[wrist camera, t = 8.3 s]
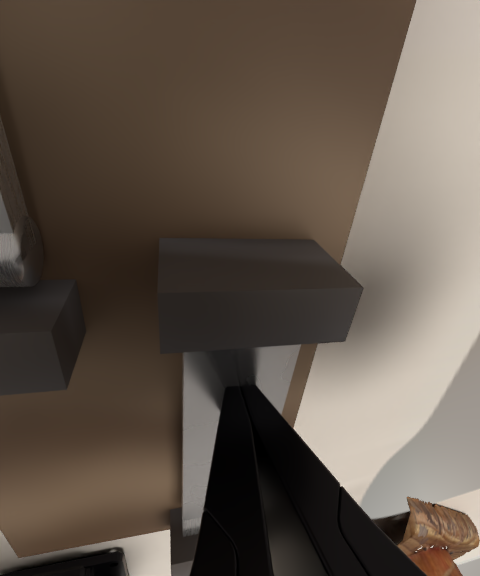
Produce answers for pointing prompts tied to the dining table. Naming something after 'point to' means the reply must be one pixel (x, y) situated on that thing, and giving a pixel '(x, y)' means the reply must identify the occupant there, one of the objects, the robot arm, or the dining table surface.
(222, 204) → the walnut board
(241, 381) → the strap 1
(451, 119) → the dining table surface
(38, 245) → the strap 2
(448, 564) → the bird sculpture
